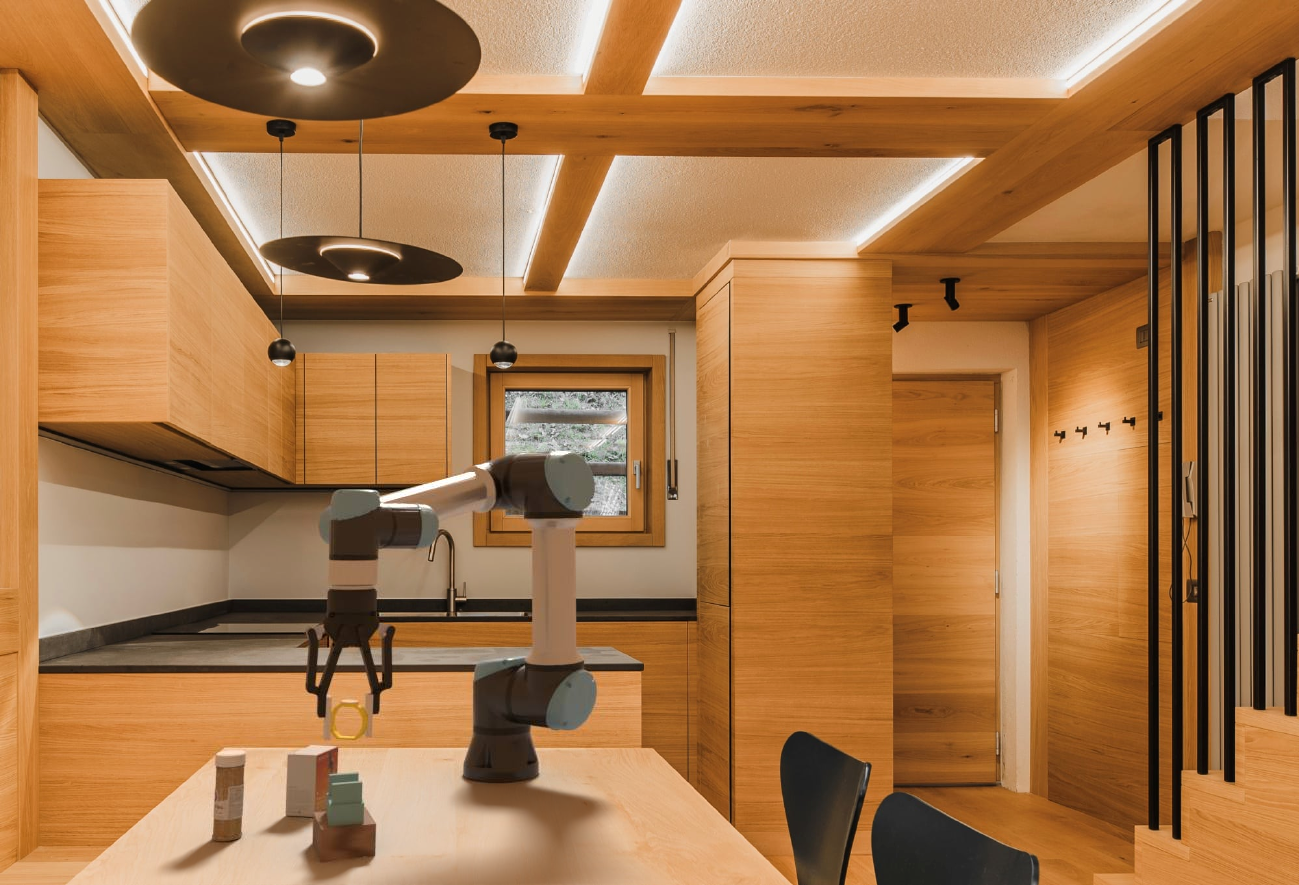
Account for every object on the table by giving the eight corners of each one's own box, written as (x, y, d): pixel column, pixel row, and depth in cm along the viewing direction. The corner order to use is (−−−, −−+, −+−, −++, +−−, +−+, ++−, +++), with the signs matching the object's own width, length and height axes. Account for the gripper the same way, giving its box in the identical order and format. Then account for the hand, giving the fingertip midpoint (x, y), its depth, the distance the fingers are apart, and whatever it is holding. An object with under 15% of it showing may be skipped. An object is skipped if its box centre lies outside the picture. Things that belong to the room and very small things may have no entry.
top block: (358, 809, 162) (359, 771, 163) (363, 823, 155) (364, 783, 155) (325, 812, 161) (327, 773, 161) (329, 826, 153) (330, 785, 154)
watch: (368, 740, 159) (372, 701, 160) (360, 743, 157) (364, 704, 157) (333, 735, 161) (337, 697, 161) (324, 738, 158) (328, 699, 158)
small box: (314, 818, 174) (316, 755, 175) (284, 816, 175) (286, 753, 176) (337, 806, 182) (339, 745, 182) (308, 804, 183) (310, 744, 184)
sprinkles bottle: (206, 838, 162) (210, 752, 163) (233, 832, 166) (237, 747, 167) (220, 844, 159) (224, 756, 160) (248, 837, 163) (251, 752, 164)
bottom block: (364, 838, 163) (365, 807, 164) (375, 857, 154) (376, 823, 155) (312, 845, 160) (313, 812, 161) (320, 864, 151) (321, 829, 151)
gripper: (407, 585, 168) (402, 728, 166) (288, 586, 160) (282, 737, 158) (416, 587, 161) (412, 737, 159) (292, 589, 153) (286, 746, 151)
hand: (347, 736), depth 159 cm, fingers closed on watch, 5 cm apart
